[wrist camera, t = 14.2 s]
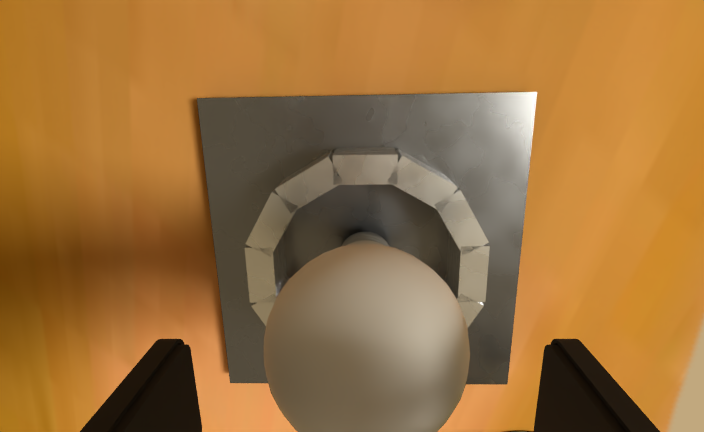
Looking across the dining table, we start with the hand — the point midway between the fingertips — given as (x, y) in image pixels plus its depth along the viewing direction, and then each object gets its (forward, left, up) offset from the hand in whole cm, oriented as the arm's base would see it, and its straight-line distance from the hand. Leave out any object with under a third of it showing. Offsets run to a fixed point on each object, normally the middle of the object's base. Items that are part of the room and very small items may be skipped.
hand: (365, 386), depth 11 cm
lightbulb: (0, 0, -10) cm, 10 cm away
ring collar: (0, 0, -11) cm, 11 cm away
